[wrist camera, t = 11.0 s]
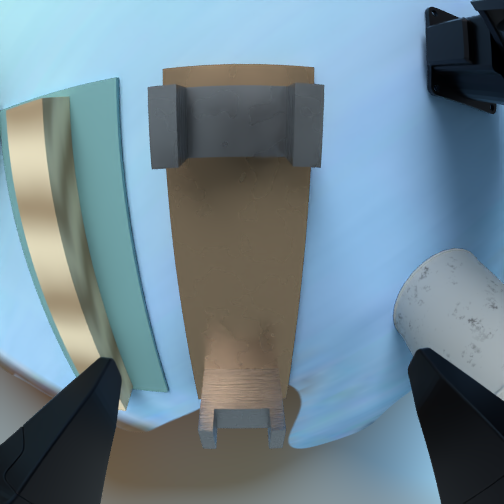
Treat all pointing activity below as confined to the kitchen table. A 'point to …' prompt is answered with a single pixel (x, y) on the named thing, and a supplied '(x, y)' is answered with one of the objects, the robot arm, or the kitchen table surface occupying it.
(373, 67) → the kitchen table surface
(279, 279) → the bracketed wooden plank
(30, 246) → the rail
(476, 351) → the grey stone cylinder
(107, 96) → the mat
